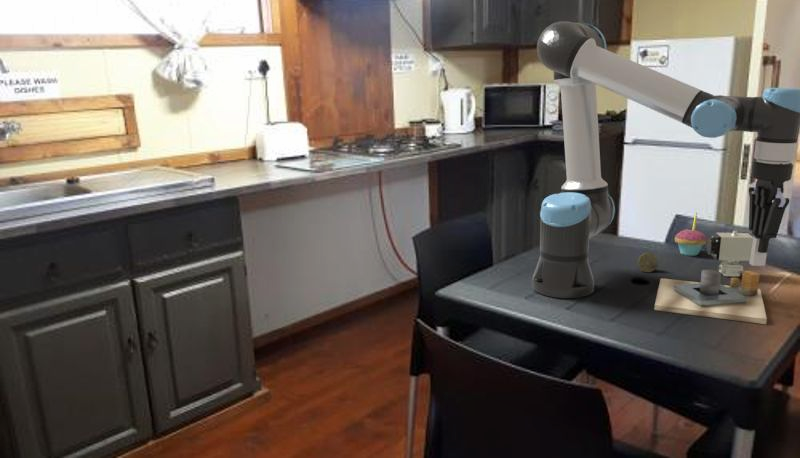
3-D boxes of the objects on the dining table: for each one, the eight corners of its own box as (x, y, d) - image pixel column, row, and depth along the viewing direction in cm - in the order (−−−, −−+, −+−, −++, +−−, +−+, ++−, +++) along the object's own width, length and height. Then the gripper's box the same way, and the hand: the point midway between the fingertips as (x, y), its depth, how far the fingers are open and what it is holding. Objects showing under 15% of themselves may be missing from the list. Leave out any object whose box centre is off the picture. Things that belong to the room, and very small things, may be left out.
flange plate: (700, 306, 138) (702, 284, 137) (673, 289, 149) (675, 269, 147) (769, 300, 140) (771, 279, 139) (737, 285, 150) (739, 265, 149)
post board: (654, 309, 140) (656, 279, 138) (660, 282, 158) (662, 255, 156) (766, 324, 131) (770, 292, 129) (759, 293, 148) (763, 265, 146)
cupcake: (682, 247, 187) (685, 209, 184) (711, 253, 181) (714, 213, 178) (668, 253, 182) (671, 213, 179) (696, 259, 175) (700, 218, 172)
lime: (659, 271, 166) (661, 254, 165) (645, 274, 164) (646, 256, 163) (647, 267, 170) (648, 249, 169) (633, 269, 168) (634, 252, 167)
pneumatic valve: (757, 279, 158) (763, 233, 155) (708, 277, 161) (712, 232, 158) (750, 272, 164) (755, 228, 161) (702, 270, 166) (707, 227, 163)
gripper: (808, 166, 127) (789, 274, 133) (775, 156, 140) (760, 256, 146) (770, 165, 127) (753, 274, 134) (741, 156, 140) (727, 255, 146)
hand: (757, 264), depth 140 cm, fingers closed
